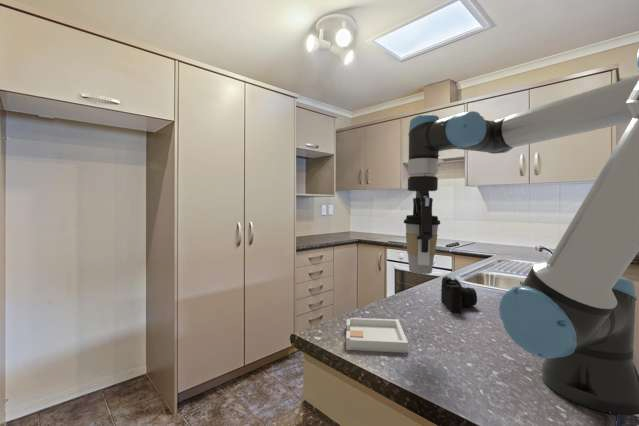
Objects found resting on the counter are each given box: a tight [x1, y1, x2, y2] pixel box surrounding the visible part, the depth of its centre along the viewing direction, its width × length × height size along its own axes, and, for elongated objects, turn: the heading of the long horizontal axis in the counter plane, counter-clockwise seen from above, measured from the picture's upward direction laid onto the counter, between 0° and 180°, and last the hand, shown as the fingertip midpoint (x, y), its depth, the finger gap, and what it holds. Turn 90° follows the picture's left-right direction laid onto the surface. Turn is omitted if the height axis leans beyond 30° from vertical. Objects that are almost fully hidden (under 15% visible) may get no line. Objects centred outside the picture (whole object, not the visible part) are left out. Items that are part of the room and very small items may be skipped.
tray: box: [345, 317, 409, 354], centre depth 83 cm, size 15×15×2 cm
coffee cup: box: [403, 214, 441, 275], centre depth 82 cm, size 9×9×15 cm
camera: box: [440, 275, 478, 314], centre depth 108 cm, size 14×11×10 cm
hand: (420, 261), depth 82 cm, fingers closed on coffee cup, 8 cm apart
